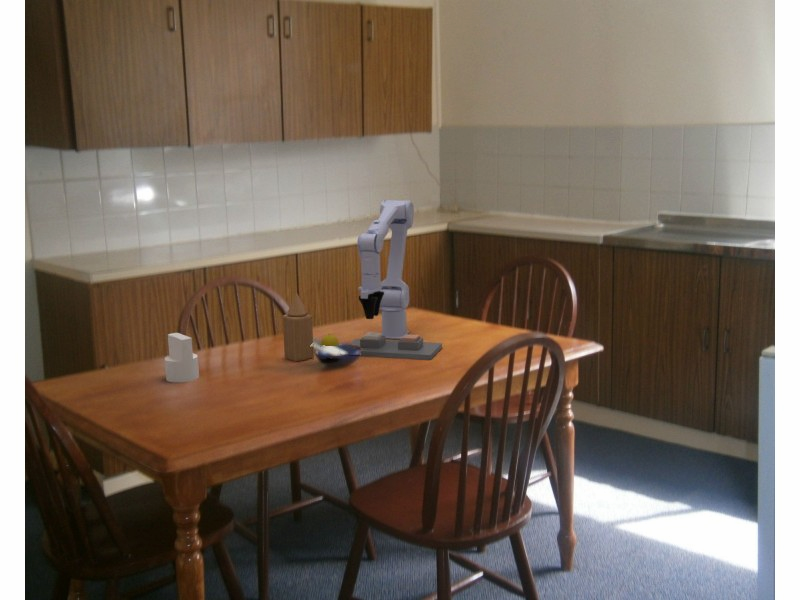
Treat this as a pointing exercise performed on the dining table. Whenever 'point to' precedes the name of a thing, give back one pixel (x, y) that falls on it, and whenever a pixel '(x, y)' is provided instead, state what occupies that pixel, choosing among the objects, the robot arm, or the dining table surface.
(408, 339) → the terracotta key
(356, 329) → the dining table surface
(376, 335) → the white key
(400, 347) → the grey key base
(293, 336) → the decorative item
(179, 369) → the cylinder with rectangular tab
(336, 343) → the lemon
